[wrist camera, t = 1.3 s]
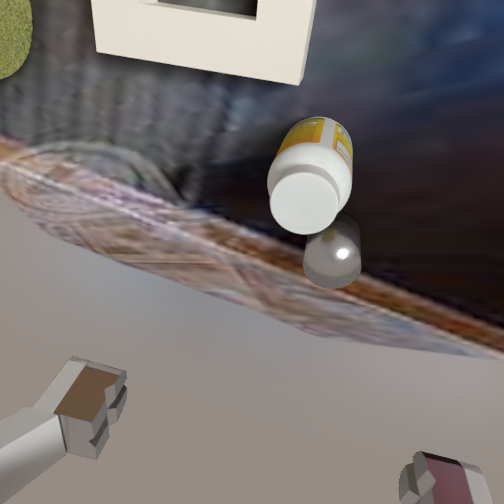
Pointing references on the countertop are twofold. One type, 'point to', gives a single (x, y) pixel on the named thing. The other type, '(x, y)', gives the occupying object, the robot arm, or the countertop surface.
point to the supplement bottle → (311, 175)
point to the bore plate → (210, 36)
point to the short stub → (334, 253)
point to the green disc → (14, 34)
